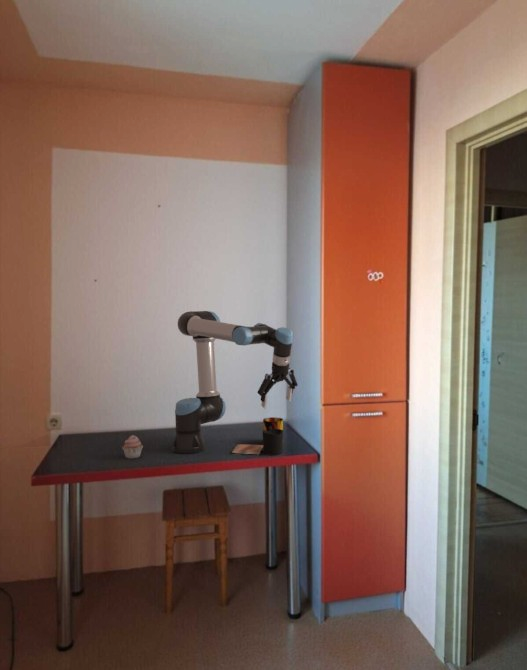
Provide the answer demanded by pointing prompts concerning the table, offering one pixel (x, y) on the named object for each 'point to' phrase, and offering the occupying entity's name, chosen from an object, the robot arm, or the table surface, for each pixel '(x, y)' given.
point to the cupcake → (132, 447)
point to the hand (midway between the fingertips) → (276, 403)
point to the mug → (272, 423)
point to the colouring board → (248, 449)
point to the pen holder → (273, 441)
